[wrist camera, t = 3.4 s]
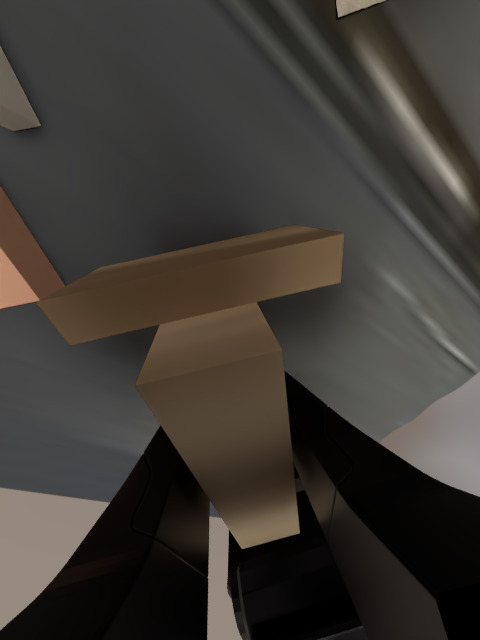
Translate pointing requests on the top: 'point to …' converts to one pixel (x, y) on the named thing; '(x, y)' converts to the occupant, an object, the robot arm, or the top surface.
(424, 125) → the top surface
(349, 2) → the condiment
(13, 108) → the corral
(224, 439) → the scraper
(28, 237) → the tile
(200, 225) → the top surface
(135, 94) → the top surface
